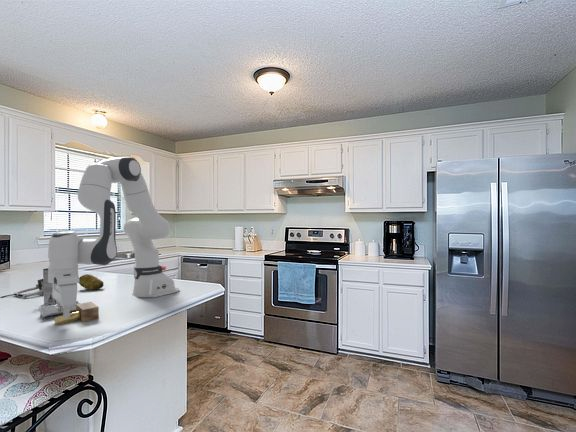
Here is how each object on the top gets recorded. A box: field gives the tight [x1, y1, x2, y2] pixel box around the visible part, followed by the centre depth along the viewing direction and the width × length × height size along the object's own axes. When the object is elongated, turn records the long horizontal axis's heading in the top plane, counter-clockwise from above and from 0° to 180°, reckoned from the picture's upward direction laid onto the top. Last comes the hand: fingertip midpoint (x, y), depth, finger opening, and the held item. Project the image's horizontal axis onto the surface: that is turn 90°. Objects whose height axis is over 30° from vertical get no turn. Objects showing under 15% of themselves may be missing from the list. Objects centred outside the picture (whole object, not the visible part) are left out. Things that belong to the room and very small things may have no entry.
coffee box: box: [42, 267, 57, 305], centre depth 145 cm, size 9×6×16 cm
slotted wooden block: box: [76, 301, 100, 323], centre depth 117 cm, size 5×10×6 cm, turn 46°
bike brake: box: [0, 278, 44, 299], centre depth 157 cm, size 14×7×20 cm
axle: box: [54, 311, 81, 326], centre depth 115 cm, size 13×3×3 cm, turn 137°
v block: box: [39, 300, 81, 321], centre depth 121 cm, size 12×7×5 cm, turn 136°
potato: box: [78, 274, 104, 291], centre depth 169 cm, size 8×13×8 cm, turn 64°
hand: (63, 314), depth 112 cm, fingers open, 8 cm apart
